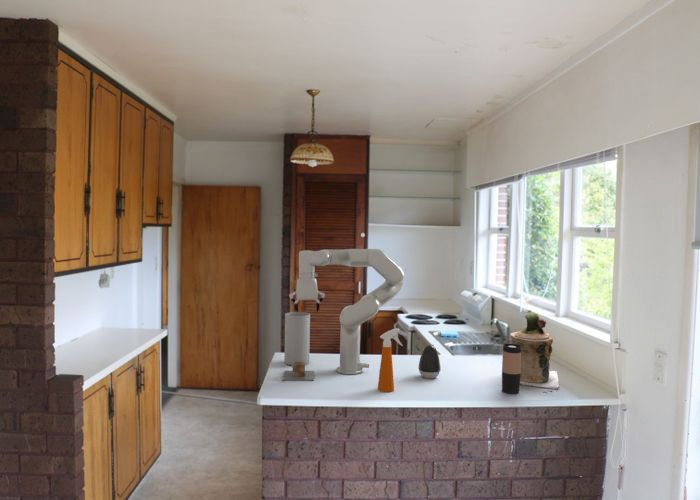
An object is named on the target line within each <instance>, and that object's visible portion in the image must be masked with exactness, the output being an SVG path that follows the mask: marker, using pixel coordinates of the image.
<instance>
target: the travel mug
mask: <svg viewBox="0 0 700 500" xmlns="http://www.w3.org/2000/svg"><path fill="white" fill-rule="evenodd" d="M501 363H502V366H501V391H502V393H505V394H508V395H517V394H518V395H519V394H520V389H521V384H520V374H521V346H520V345H517V344H511V343H504V344H503V345H502V362H501Z"/></svg>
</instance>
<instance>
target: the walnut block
mask: <svg viewBox="0 0 700 500" xmlns="http://www.w3.org/2000/svg"><path fill="white" fill-rule="evenodd" d="M292 371H293V377H305V371H306V365H305V362H293V366H292Z"/></svg>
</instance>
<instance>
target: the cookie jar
mask: <svg viewBox="0 0 700 500" xmlns="http://www.w3.org/2000/svg"><path fill="white" fill-rule="evenodd" d="M524 318H525V319H526V328H523V329H522V330H519V331H516V332H515V331H514V332H511V333H510V334H509V338H510V340H511V341H510V344H517V345H520V346H521V374H520V386H527V387H528V386H530V387H536V388H544V389H550V390H556V389H558V388H559V387H560V383H559V382H560V380H559V376H558V371H557V370H556V371H555V370H550V365H551V364H550V362H549V361H550V360H551V354H552V353H553V347H552V344H553V342H554V340H553V338H552V337H551V335H550V333H547V332H545V331H544V328H545V327H546V324H547V321H546V320H545V319H543V318H540V317H539V314H538V313H536V312H533V311H532V310H530V309H528V310H527V313H526V314H525V315H524Z"/></svg>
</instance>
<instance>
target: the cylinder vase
mask: <svg viewBox="0 0 700 500" xmlns="http://www.w3.org/2000/svg"><path fill="white" fill-rule="evenodd" d="M310 333H311V313H309V312H304V311H298V312H296V311H290V312H286V313H285V314H284V364H286V365H287V366H291V367H293V362H305V366H306V365H308V364H309V363H310V345H311V344H310V342H311V337H310V335H311V334H310Z"/></svg>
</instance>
